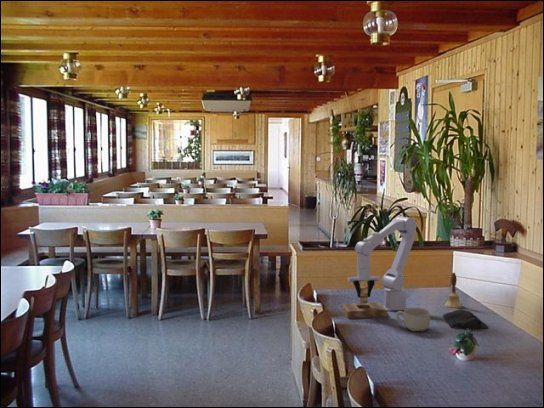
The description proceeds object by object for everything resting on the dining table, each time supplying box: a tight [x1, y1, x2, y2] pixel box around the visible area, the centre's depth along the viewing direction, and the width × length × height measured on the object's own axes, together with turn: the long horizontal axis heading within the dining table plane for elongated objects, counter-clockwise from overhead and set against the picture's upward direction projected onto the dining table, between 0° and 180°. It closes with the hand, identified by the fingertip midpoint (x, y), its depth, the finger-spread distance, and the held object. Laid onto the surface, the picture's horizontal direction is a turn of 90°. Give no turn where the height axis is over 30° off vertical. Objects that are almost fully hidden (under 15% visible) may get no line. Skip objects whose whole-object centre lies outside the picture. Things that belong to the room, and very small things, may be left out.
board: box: [341, 301, 388, 319], centre depth 275 cm, size 18×14×3 cm
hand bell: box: [444, 272, 464, 309], centre depth 284 cm, size 8×8×16 cm
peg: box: [359, 286, 369, 303], centre depth 274 cm, size 4×4×7 cm
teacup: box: [395, 307, 431, 332], centre depth 248 cm, size 14×11×8 cm
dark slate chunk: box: [442, 308, 489, 330], centre depth 258 cm, size 15×22×5 cm
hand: (363, 296), depth 274 cm, fingers closed on peg, 4 cm apart
